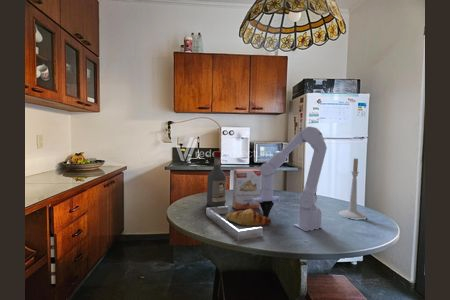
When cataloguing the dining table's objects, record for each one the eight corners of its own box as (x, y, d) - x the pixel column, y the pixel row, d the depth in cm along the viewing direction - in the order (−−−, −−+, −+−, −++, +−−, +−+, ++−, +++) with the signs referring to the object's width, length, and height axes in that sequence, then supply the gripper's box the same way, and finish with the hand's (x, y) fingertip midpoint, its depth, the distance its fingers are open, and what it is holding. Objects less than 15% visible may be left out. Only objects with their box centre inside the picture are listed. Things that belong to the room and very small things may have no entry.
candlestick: (352, 211, 142) (356, 156, 140) (372, 219, 130) (376, 159, 128) (333, 213, 139) (336, 156, 137) (351, 221, 126) (355, 159, 124)
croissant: (223, 229, 121) (221, 216, 117) (229, 213, 129) (227, 201, 125) (269, 234, 115) (268, 221, 111) (272, 218, 123) (272, 205, 119)
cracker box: (235, 209, 140) (236, 170, 138) (232, 206, 145) (233, 169, 144) (259, 208, 143) (261, 170, 142) (255, 205, 149) (257, 168, 148)
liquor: (204, 203, 150) (206, 151, 148) (218, 201, 155) (219, 150, 153) (214, 207, 142) (215, 152, 140) (227, 205, 148) (229, 152, 146)
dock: (226, 212, 134) (226, 205, 134) (262, 236, 105) (262, 227, 104) (206, 214, 130) (206, 207, 129) (238, 240, 100) (238, 231, 100)
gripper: (274, 185, 131) (273, 212, 132) (249, 187, 124) (248, 215, 125) (283, 188, 124) (282, 217, 125) (257, 190, 118) (256, 220, 119)
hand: (265, 216), depth 125 cm, fingers closed
